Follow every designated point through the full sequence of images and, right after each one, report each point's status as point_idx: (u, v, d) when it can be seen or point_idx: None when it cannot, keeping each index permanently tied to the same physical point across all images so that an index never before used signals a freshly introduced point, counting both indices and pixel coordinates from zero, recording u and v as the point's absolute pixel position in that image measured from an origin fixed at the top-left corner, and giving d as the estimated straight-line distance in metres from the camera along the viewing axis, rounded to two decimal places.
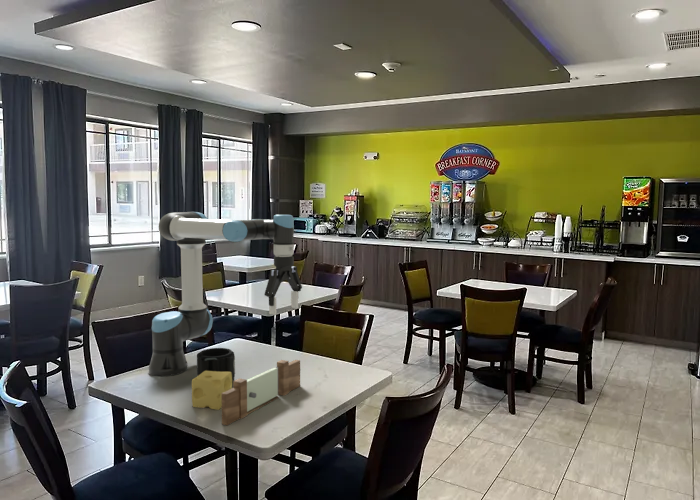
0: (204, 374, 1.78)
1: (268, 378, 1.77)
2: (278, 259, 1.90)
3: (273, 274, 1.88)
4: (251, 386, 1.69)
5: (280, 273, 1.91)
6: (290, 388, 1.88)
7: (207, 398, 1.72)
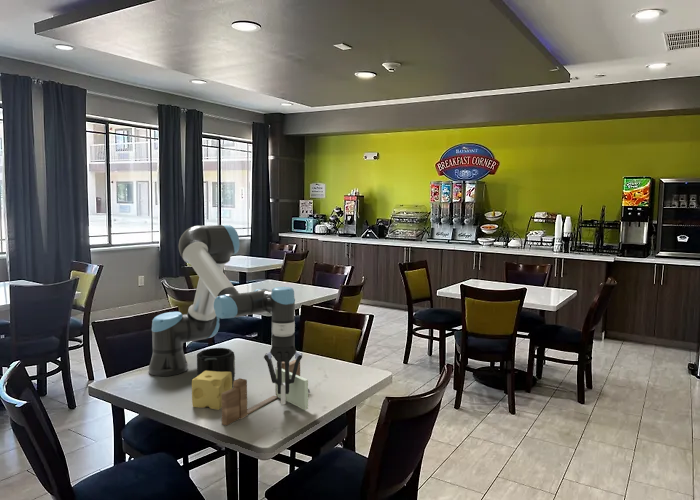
0: (204, 374, 1.78)
1: None
2: None
3: None
4: None
5: (272, 353, 1.69)
6: None
7: (207, 398, 1.72)
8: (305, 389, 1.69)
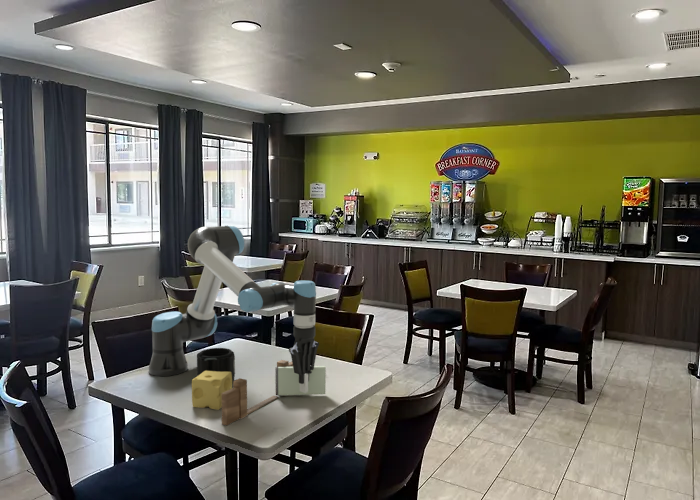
0: (204, 374, 1.78)
1: None
2: (297, 330, 1.74)
3: (293, 354, 1.73)
4: None
5: (299, 346, 1.74)
6: None
7: (207, 398, 1.72)
8: (325, 375, 1.83)
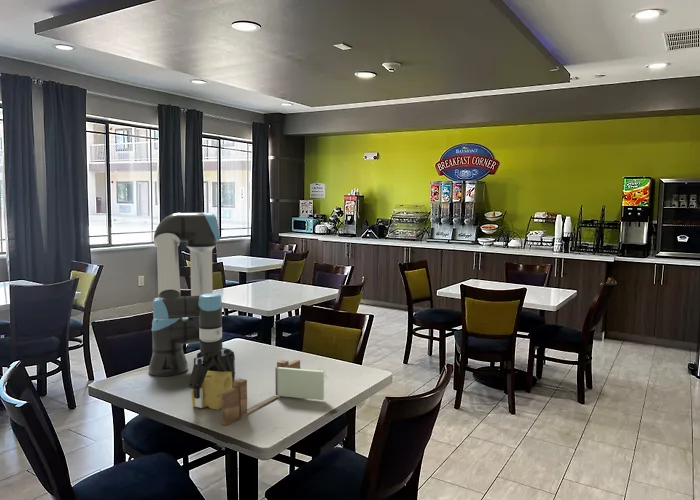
0: None
1: None
2: (203, 344, 1.72)
3: (197, 363, 1.70)
4: None
5: (206, 360, 1.72)
6: None
7: (207, 398, 1.72)
8: (323, 380, 1.78)
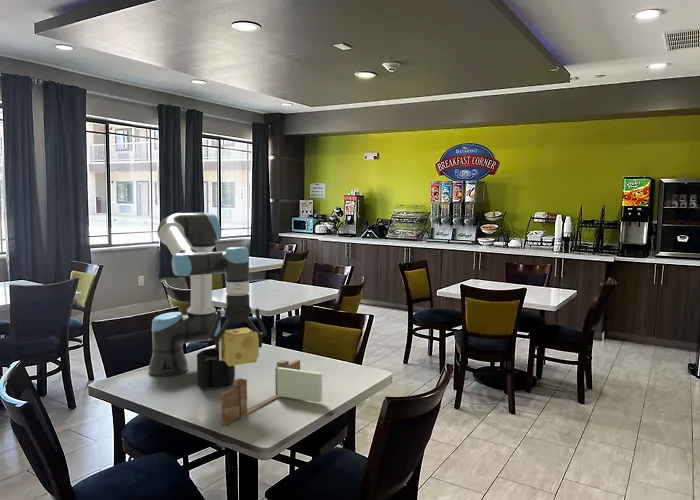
0: (237, 329, 1.74)
1: None
2: (226, 297, 1.69)
3: (217, 315, 1.68)
4: None
5: (227, 313, 1.69)
6: None
7: (225, 352, 1.68)
8: (320, 382, 1.76)
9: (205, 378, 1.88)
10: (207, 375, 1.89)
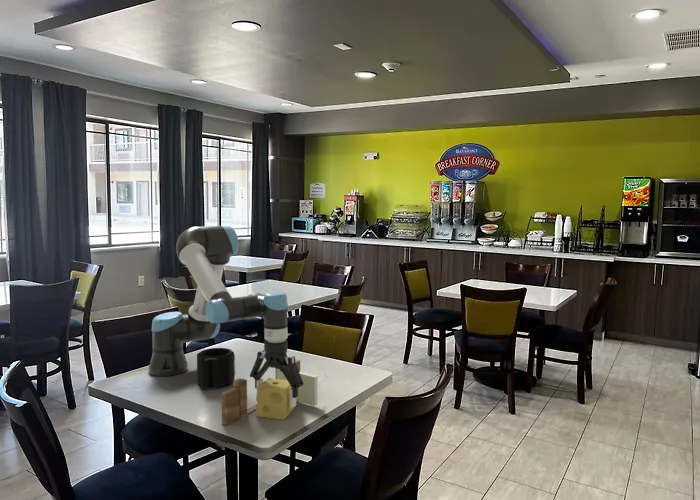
0: (281, 381, 1.72)
1: None
2: None
3: None
4: None
5: (265, 357, 1.69)
6: None
7: None
8: (315, 385, 1.73)
9: (205, 378, 1.88)
10: (207, 375, 1.89)
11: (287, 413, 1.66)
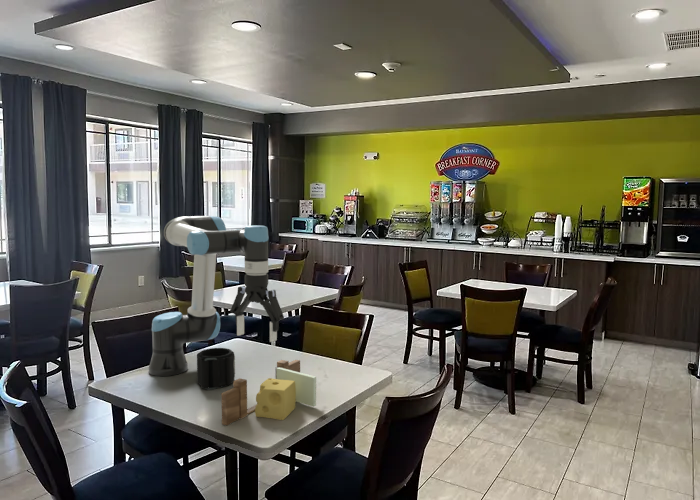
0: (282, 381, 1.71)
1: None
2: None
3: None
4: None
5: (246, 292, 1.67)
6: None
7: None
8: (313, 386, 1.72)
9: (205, 378, 1.88)
10: (207, 375, 1.89)
11: (287, 413, 1.66)
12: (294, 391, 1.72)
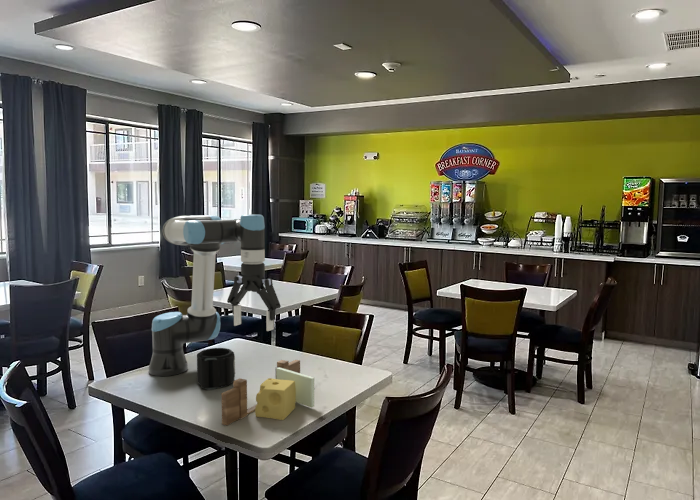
0: (282, 381, 1.71)
1: None
2: None
3: None
4: None
5: (242, 281, 1.66)
6: None
7: None
8: (311, 387, 1.71)
9: (205, 378, 1.88)
10: (207, 375, 1.89)
11: (287, 413, 1.66)
12: (294, 391, 1.72)
